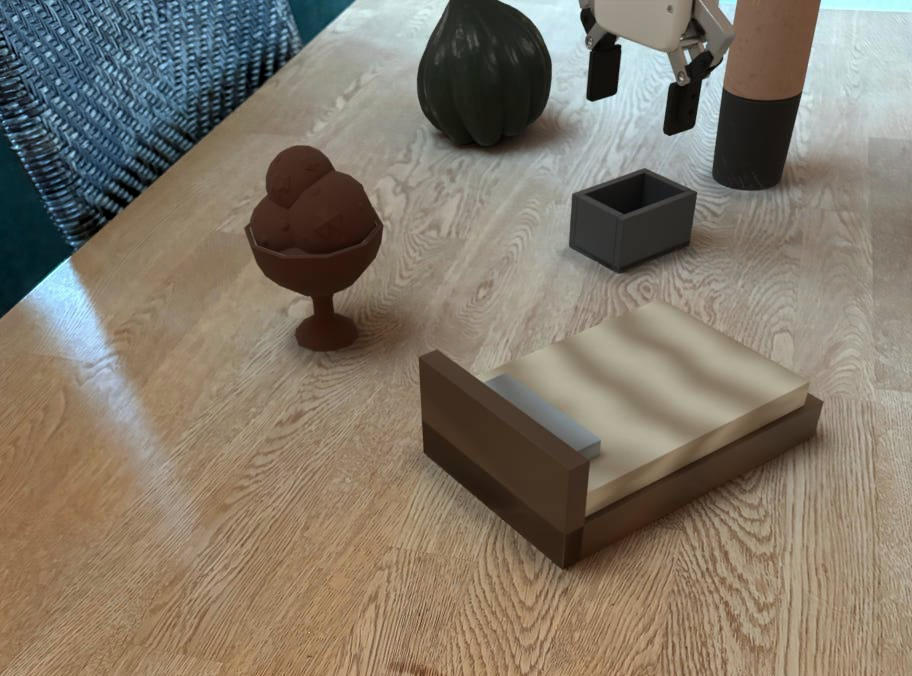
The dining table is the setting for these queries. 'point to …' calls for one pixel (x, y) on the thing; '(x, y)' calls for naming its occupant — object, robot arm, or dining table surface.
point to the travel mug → (762, 90)
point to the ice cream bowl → (314, 239)
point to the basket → (631, 219)
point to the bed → (561, 470)
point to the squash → (483, 72)
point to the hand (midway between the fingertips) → (638, 114)
